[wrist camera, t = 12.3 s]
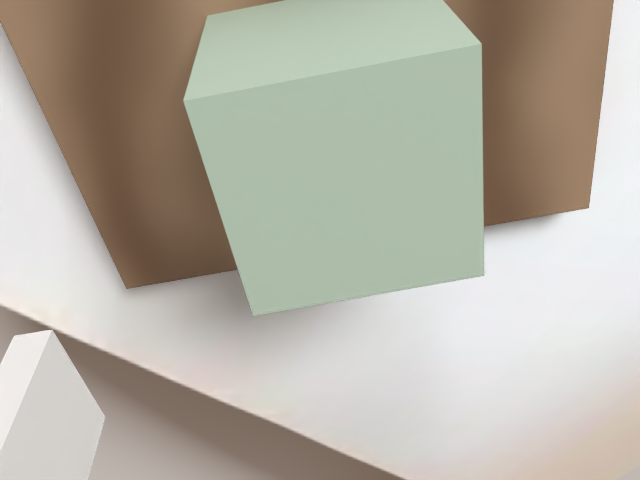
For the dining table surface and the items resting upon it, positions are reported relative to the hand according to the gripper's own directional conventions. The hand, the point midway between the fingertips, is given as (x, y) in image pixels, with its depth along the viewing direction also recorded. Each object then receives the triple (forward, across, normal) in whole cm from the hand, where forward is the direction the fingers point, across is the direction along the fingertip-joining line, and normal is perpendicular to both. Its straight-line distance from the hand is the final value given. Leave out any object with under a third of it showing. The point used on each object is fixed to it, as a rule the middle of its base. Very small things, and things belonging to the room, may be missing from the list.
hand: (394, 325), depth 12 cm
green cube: (+12, 0, 0) cm, 12 cm away
